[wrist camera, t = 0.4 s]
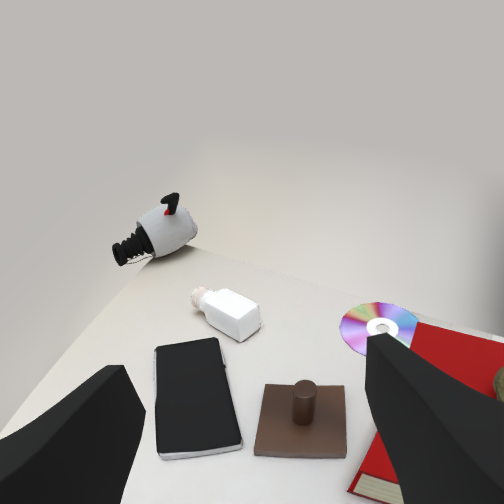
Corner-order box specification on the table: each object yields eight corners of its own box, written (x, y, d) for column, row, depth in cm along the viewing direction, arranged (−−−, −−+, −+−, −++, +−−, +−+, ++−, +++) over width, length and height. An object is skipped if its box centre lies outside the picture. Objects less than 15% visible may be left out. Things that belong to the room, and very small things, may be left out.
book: (476, 523, 13) (507, 503, 11) (347, 491, 20) (358, 469, 17) (500, 378, 26) (517, 346, 24) (407, 354, 33) (417, 321, 30)
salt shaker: (237, 319, 36) (185, 291, 41) (241, 345, 37) (191, 314, 43) (261, 302, 38) (208, 277, 44) (262, 328, 40) (212, 301, 46)
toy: (115, 250, 45) (131, 289, 58) (212, 199, 53) (207, 245, 66) (94, 210, 48) (110, 255, 61) (184, 166, 56) (184, 215, 69)
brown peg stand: (345, 457, 23) (355, 428, 20) (254, 455, 24) (249, 425, 22) (343, 391, 30) (350, 354, 27) (265, 389, 31) (263, 353, 29)
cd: (326, 344, 36) (326, 345, 36) (416, 369, 30) (416, 369, 30) (354, 295, 44) (354, 295, 44) (428, 312, 39) (428, 312, 39)
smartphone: (155, 456, 23) (153, 346, 36) (159, 461, 24) (155, 353, 37) (244, 443, 24) (218, 335, 37) (245, 448, 25) (220, 343, 38)
